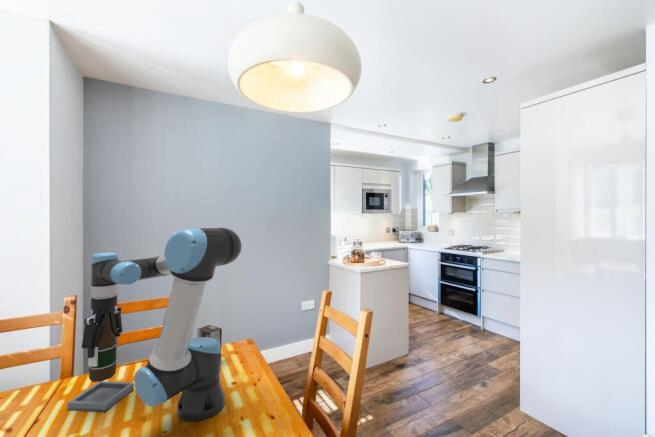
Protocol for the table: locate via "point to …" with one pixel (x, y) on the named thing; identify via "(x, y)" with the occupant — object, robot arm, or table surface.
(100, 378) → the beer bottle
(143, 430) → the table surface
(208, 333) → the coffee box
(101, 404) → the tray
